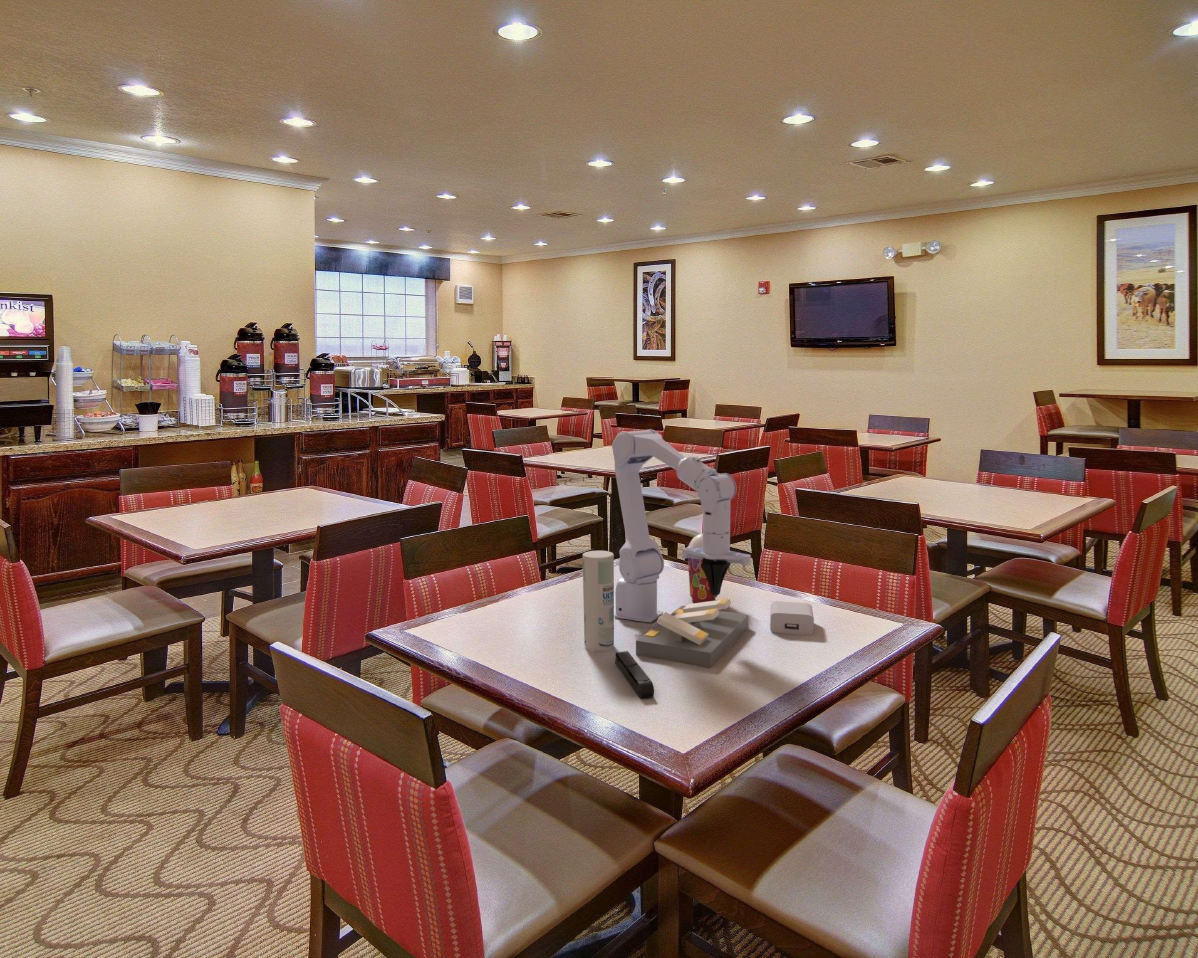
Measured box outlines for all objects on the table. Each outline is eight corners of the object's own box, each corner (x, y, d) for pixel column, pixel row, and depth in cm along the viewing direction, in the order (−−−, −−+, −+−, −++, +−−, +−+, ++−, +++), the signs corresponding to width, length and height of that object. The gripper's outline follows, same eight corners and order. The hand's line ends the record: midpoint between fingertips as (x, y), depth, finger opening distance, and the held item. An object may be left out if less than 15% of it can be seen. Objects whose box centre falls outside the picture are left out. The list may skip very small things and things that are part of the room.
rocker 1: (656, 622, 155) (658, 617, 155) (664, 616, 159) (665, 611, 158) (700, 645, 151) (702, 639, 151) (706, 638, 155) (708, 633, 155)
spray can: (604, 653, 156) (603, 559, 153) (577, 648, 159) (576, 555, 156) (620, 644, 161) (619, 552, 158) (594, 638, 164) (593, 549, 162)
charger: (810, 614, 180) (813, 636, 165) (770, 612, 182) (770, 633, 168) (810, 595, 179) (813, 615, 165) (771, 593, 181) (770, 612, 167)
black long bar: (654, 699, 134) (654, 683, 134) (640, 701, 133) (640, 685, 133) (626, 663, 151) (626, 648, 151) (614, 664, 151) (614, 650, 150)
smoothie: (725, 599, 192) (726, 521, 190) (711, 607, 185) (712, 527, 183) (695, 594, 197) (696, 518, 194) (681, 602, 190) (681, 524, 187)
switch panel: (635, 654, 155) (635, 634, 154) (681, 617, 178) (682, 600, 177) (710, 667, 148) (710, 646, 147) (748, 627, 171) (748, 609, 170)
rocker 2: (670, 624, 163) (668, 618, 163) (677, 619, 166) (675, 613, 166) (713, 619, 158) (711, 613, 158) (719, 613, 162) (718, 608, 162)
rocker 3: (683, 614, 170) (682, 608, 170) (690, 609, 173) (688, 603, 173) (725, 608, 165) (723, 602, 165) (731, 603, 169) (729, 598, 169)
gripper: (677, 532, 159) (676, 594, 161) (743, 538, 152) (742, 603, 154) (689, 525, 165) (688, 586, 167) (754, 532, 159) (752, 594, 160)
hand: (715, 594), depth 161 cm, fingers closed
